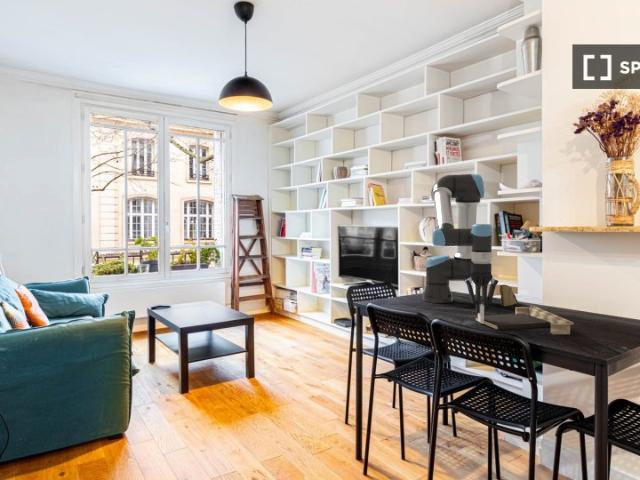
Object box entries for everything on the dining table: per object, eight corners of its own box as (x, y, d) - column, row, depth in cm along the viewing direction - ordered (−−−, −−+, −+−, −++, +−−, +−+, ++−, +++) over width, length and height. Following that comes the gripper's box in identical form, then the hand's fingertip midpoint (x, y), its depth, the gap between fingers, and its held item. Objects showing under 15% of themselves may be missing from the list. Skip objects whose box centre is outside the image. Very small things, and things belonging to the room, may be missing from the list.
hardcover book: (474, 321, 178) (474, 316, 178) (524, 318, 182) (524, 313, 182) (497, 331, 162) (497, 325, 162) (551, 328, 166) (551, 322, 166)
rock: (514, 297, 217) (494, 294, 217) (520, 285, 212) (501, 283, 212) (520, 313, 209) (500, 311, 209) (527, 301, 203) (507, 299, 203)
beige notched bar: (515, 315, 186) (515, 305, 186) (532, 315, 186) (533, 305, 186) (552, 334, 155) (552, 322, 155) (573, 334, 155) (573, 322, 155)
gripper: (468, 263, 167) (467, 323, 168) (501, 263, 166) (500, 323, 167) (462, 261, 174) (461, 318, 175) (494, 261, 174) (493, 318, 175)
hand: (480, 320), depth 171 cm, fingers closed
